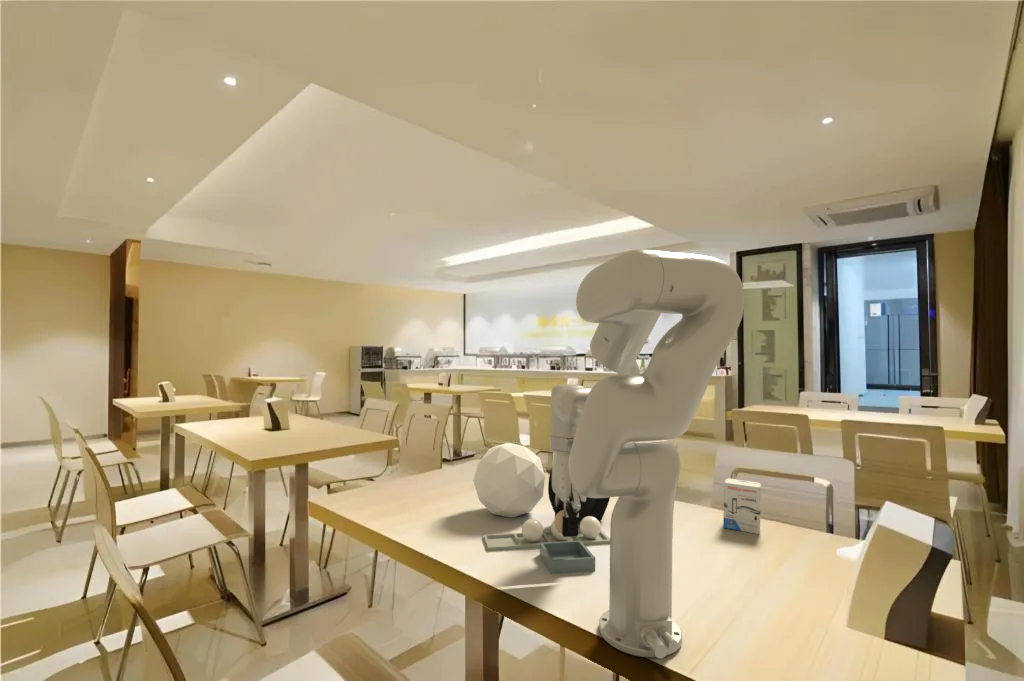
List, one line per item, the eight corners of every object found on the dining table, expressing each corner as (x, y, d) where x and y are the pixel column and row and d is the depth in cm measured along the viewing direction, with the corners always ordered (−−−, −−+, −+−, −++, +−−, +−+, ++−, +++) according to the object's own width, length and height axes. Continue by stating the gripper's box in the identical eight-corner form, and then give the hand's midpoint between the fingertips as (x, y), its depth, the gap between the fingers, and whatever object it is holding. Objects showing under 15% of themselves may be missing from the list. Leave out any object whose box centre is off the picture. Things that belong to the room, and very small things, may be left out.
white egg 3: (604, 541, 114) (604, 519, 114) (583, 542, 113) (583, 520, 113) (596, 533, 119) (596, 512, 119) (576, 534, 118) (576, 513, 118)
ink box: (722, 528, 125) (723, 482, 125) (724, 522, 130) (724, 477, 130) (760, 534, 121) (760, 486, 121) (760, 528, 126) (761, 482, 126)
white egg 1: (545, 544, 111) (545, 522, 111) (523, 546, 110) (524, 523, 110) (540, 536, 116) (540, 515, 116) (519, 537, 115) (519, 516, 115)
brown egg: (581, 538, 101) (581, 513, 101) (557, 539, 100) (558, 514, 100) (573, 528, 106) (574, 505, 106) (551, 530, 105) (551, 506, 105)
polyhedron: (489, 540, 132) (449, 476, 136) (538, 500, 145) (501, 443, 149) (520, 524, 118) (475, 454, 122) (572, 482, 131) (530, 419, 135)
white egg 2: (575, 543, 112) (575, 521, 112) (554, 544, 111) (554, 522, 111) (568, 535, 117) (568, 514, 117) (548, 536, 116) (548, 515, 116)
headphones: (564, 535, 118) (565, 452, 119) (545, 527, 123) (547, 447, 124) (614, 520, 130) (615, 444, 130) (595, 513, 135) (596, 440, 135)
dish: (595, 573, 98) (595, 558, 98) (550, 576, 97) (551, 560, 97) (580, 554, 107) (580, 540, 107) (539, 556, 106) (539, 542, 106)
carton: (613, 546, 112) (613, 541, 112) (487, 554, 106) (487, 548, 106) (599, 532, 121) (599, 527, 121) (481, 538, 115) (482, 533, 115)
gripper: (599, 452, 95) (597, 546, 95) (572, 435, 112) (570, 515, 112) (562, 453, 94) (560, 548, 94) (540, 436, 110) (538, 517, 110)
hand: (565, 529), depth 103 cm, fingers closed on brown egg, 4 cm apart
